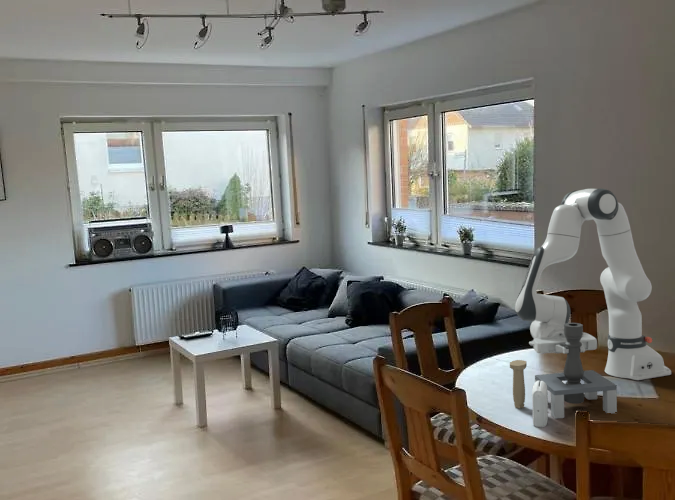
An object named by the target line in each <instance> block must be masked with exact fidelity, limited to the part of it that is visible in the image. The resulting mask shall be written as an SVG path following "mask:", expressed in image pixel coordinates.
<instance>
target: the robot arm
mask: <svg viewBox="0 0 675 500" xmlns="http://www.w3.org/2000/svg"><path fill="white" fill-rule="evenodd" d="M592 220H593V221H594V223H595V225H596V230H597V235H598V240H599V246H600V250H601V255H602V257H603V259H604V260H605V262H606V265H607V267H606V268H605V269H603V271H602V272H601V273H600V277H599V280H600V281H599V282H600V284H601V286H602V289H603V292H604V298H605V303H606V306H607V312H608V334H607V350H608V352H607V353H608V355H607V359H606V360H607V361H606V365H605V367H604V372H605V373H606V374H607V375H609V376H612V377H616V378H622V379H630V380H635V381H641V380H649V379H652V378H660V377H664V376H670V375H672V370H671V368H669V367H668V366H666V365H665V363H664V358H663V356H662V355H661V354H660V353H658V352H657V351H656V350H655V349H653V348H652V347H650V346H649V345H647V343H648V344H651V343H652V342H653V338H652V337H650V336H646V335H643V334H642V331H643V328H642V327H643V325H642V323H643V321H642V320H643V319H642V312H641V311H640V308H639V305H638V302H642V301H645V300H647V298H649V296H650V295H651V293H652V289H653V287H652V283H651V280H650V279H649V278H648V276H647V275H646V273H645V270H644V268H643V265H642V263H641V261H640V258H639V256H638V254H637V251H636V247H635V244H634V239H633V233H632V229H631V225H630V221H629V218H628V214H627V211H626V210H625V208H624V206H623V204H622V203H621V202H618V199H617V196H616V194H614V192H613V191H611V190H609V189H607V188H585V189H580V190H573V191H570V192H568V193H567V194H565V195H564V196H563V198H562V200H561V203H560V205H558V206H556V207H555V208H554V209H553V211H552V214H551V217H550V220H549V223H548V228H547V235H546V238H545V240H544V242H543V244H542V245H541V246H540V247H537V248H536V249H535V251H534V253H533V255H532V257H531V259H530V262H529V264H528V268H527V271H526V274H525V277H524V279H523V282H522V286H521V289H520V291H519V293H518V296H517V298H516V300H515V303H514V312H515V313H516V315H517V316H518V318H520V319H521V320H522V321H524V322H531V324H530V326H529V330H530V335H531V337H532V338H533V339H532V340H531V341H529V342H528V344H529V345H530V346H531V347H533V350H534V351H535V352H536V353H537V354H540V355H541V354H542V355H543V354H563V355H565V354H566V355H567V353H569V348H567V347H566V346H565V342H566V341H567V340H566V337H565V335H564V324H566V323H570V320H571V319H570V318H571V312H572V311H571V307H570V303H568V301H567V299H565V298H564V297H563V296H558V295H551V294H550V295H549V294H541V293H537V288H538V286H539V283H540V280H541V276H542V273H543V271H544V270H545V269H546V268H547V267H549V266H550V265H553V264H558V263H562V262H565V261H566V262H567V261H568V260H570V259H572V258H573V257H574V256H575V255H576V254H577V253H578V249H579V246H580V240H581V236H582V235H581V233H582V226H583V224H584V222H586V221H592ZM580 342H581V343H582V346H581V347H580V353H585V352H586V351H594V350H597V349H598V341H597V338H596V337H595V336H593V335H592V334H589V333H587V332H584V331H583V335H582V338H581V340H580Z"/></svg>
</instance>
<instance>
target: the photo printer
mask: <svg viewBox="0 0 675 500" xmlns="http://www.w3.org/2000/svg"><path fill="white" fill-rule="evenodd" d="M547 393H548V390H547V385H546V383H545V382H544V381H536V382H535V381H534V383H533V386H532V389H531V397H532V398H531V400H532V424H533V426H534V427H536V428H544V427H546V426H547V425H548V424H547V423H548V416H549V415H548V414H549V411H548V410H549V405H548V403H549V402H548V401H549V400H548V401H547Z"/></svg>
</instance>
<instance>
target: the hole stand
mask: <svg viewBox="0 0 675 500" xmlns="http://www.w3.org/2000/svg"><path fill="white" fill-rule="evenodd" d="M583 371H584V375H583V377H582V378H581V380H582V381H583V383H581V384H577V385H566V383H565V381H566V382H567V380H566V379H567V378H566V377H565V375H564V372H555V373H544V374H535V375H534V383H535V382H536V381H544V382H545V383H546V385H547V401H549V400H548V397H549V396H548V393H550V416H551V417H552V418H553V419H555V420H557V419H563V418H565V401H564V395H566V394H577V393H584V398H586V399H587V400H589V401H590V400H597V399H598V393H599V392H602V411H605V412H604V413H605V414H607V413H611V414H616V413H615V412H617V413H618V409H617V407H618V405H617V404H618V401H617V397H618V396H617V391H618V389H617V384H615V383H614V382H612V381H610V380H609V379H608V378H606V377H604V376H602V374H599V373H598V372H597V371H595V370H593V369H591V370H589V369H587V370H583Z"/></svg>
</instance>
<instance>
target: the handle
mask: <svg viewBox="0 0 675 500" xmlns="http://www.w3.org/2000/svg"><path fill="white" fill-rule="evenodd" d="M509 368H510V369H511V370H512V399H513V404H514V408H515V409H518V410H519V409H524V408H525V402H526V385H525V373H524V370H525V369H527V360H524V359H523V360H522V359H516V360H512V361H511V362H509Z"/></svg>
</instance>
